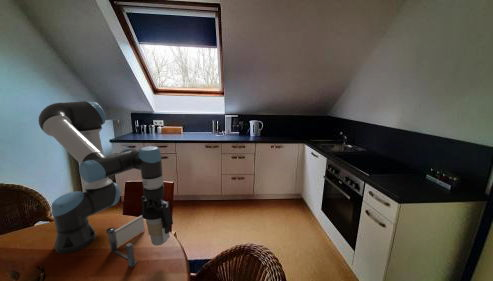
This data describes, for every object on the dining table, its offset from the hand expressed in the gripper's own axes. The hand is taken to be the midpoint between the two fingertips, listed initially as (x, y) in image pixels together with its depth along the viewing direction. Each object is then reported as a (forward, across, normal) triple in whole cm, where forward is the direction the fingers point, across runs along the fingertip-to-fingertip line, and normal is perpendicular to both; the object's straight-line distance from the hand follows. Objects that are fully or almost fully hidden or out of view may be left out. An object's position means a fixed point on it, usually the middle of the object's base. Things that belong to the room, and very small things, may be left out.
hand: (159, 236), depth 91 cm
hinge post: (+11, -22, -7) cm, 26 cm away
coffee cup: (+2, 0, 0) cm, 2 cm away
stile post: (+11, -7, -9) cm, 16 cm away
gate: (+10, -22, +2) cm, 24 cm away
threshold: (+11, -14, -7) cm, 19 cm away
